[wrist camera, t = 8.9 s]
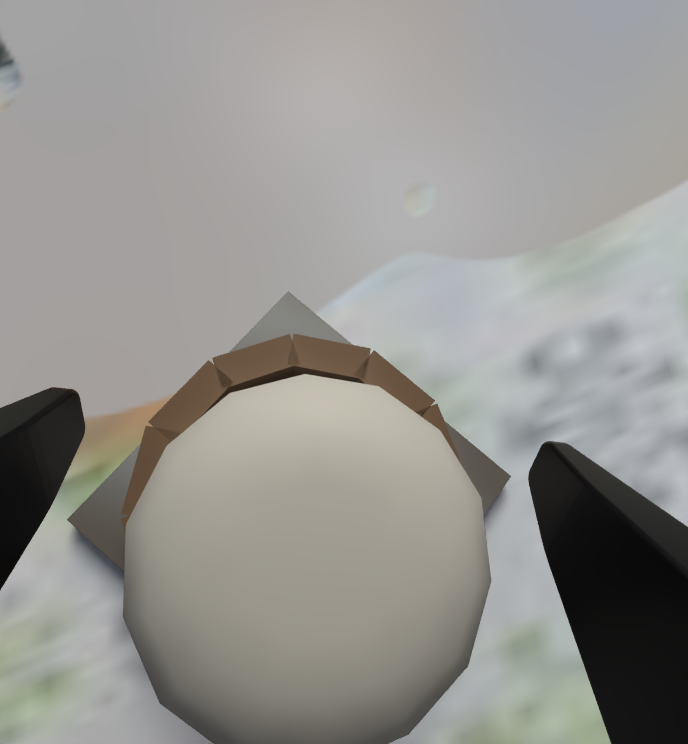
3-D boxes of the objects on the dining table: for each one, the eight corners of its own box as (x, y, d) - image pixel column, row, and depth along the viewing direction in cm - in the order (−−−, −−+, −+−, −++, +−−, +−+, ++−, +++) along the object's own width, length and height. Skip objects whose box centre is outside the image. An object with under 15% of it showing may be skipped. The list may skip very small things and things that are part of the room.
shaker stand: (318, 739, 16) (322, 787, 14) (77, 518, 17) (39, 524, 14) (502, 476, 19) (533, 475, 16) (288, 298, 20) (287, 272, 17)
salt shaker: (241, 609, 16) (44, 1070, 3) (204, 451, 17) (-44, 369, 5) (395, 555, 17) (680, 766, 4) (351, 409, 18) (478, 246, 6)
